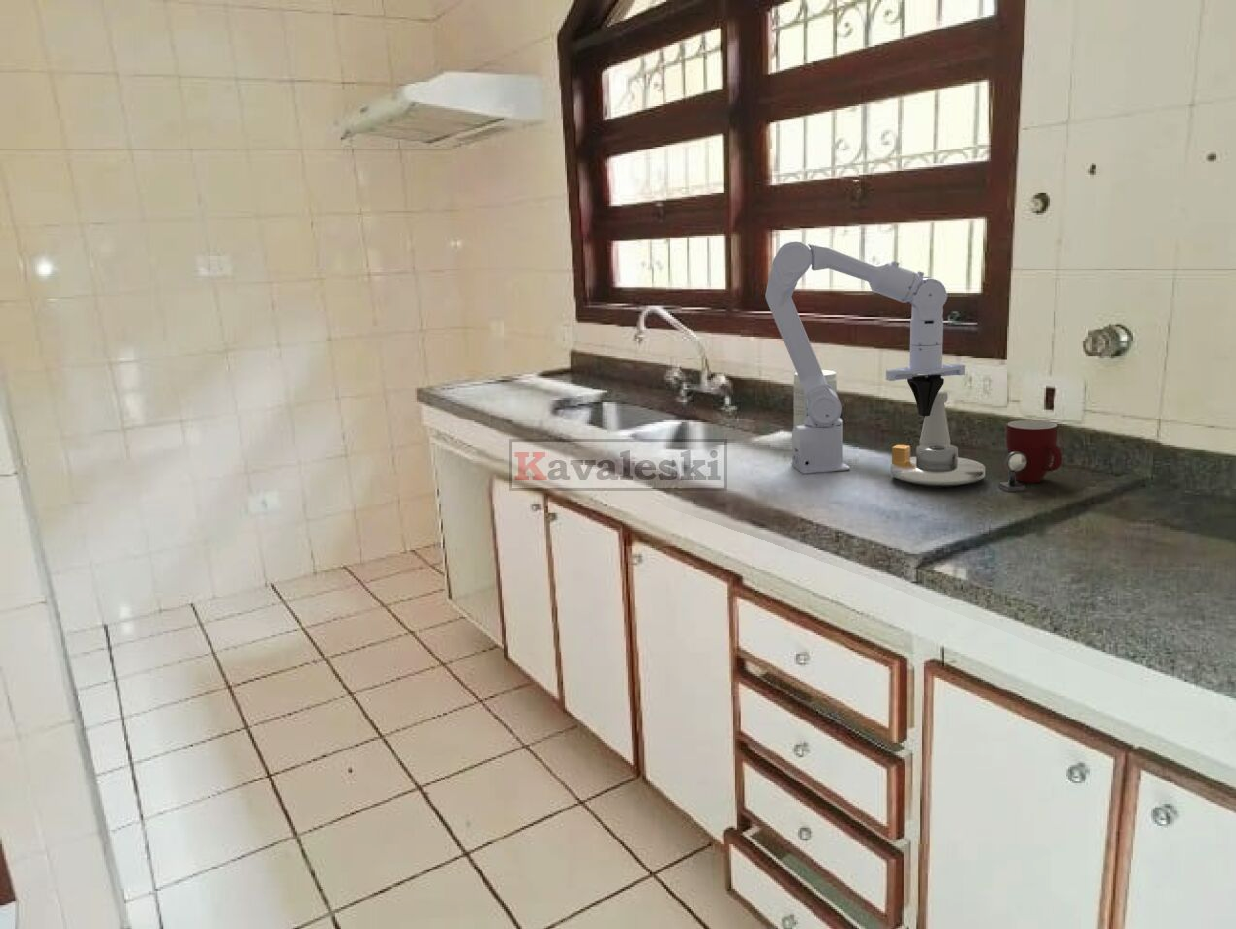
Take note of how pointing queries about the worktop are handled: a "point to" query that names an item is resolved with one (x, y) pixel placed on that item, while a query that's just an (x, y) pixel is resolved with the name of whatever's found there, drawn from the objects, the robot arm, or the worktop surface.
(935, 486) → the turntable base
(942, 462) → the cover
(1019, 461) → the dial gauge
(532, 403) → the worktop surface
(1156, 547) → the worktop surface
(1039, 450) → the mug
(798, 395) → the supplement tub
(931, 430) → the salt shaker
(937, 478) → the turntable
